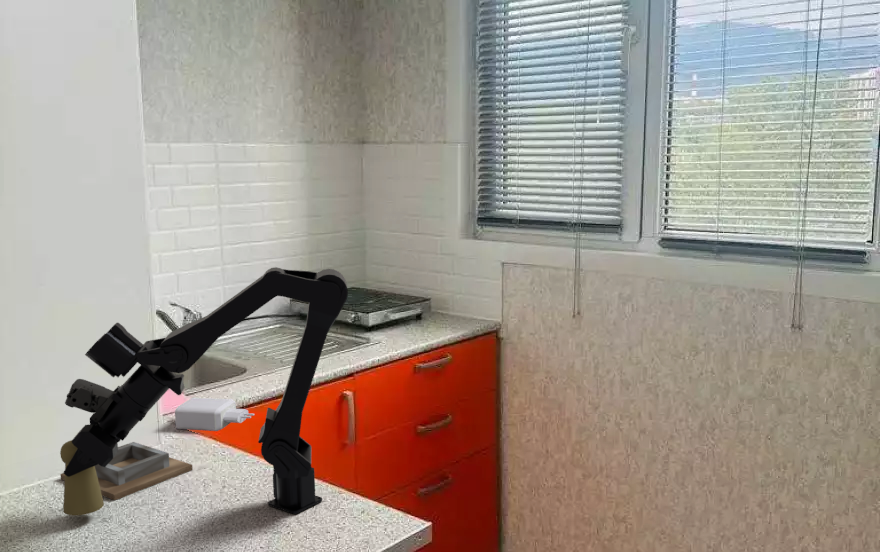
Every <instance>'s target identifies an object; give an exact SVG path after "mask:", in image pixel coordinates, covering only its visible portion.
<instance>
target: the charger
mask: <svg viewBox="0 0 880 552" xmlns="http://www.w3.org/2000/svg"><path fill="white" fill-rule="evenodd" d="M236 404H237V403H236V401H235V400H234V399H232V398H216V397H215V398H212V397H191V398H189V399H188V400H186V401H185V402H183V403H181V404H180V405H178V406H177V407H176V408H175V410H174V419H175V429H176V430H190V431H191V430H192V431H207V432H208V431H209V432H218V431H221V430H223V429H224V428H226V427H227V426H228V425H230V424H231V423H232V424H233V423H236V424H242V423H243V422H244V421H246V419H251V418H252V416H253V417H254V416H255V413H249V410H248V409H246V408H237V407H236V406H237V405H236Z"/></svg>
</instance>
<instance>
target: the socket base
mask: <svg viewBox="0 0 880 552" xmlns="http://www.w3.org/2000/svg"><path fill="white" fill-rule="evenodd" d="M95 469H96V473H97V477H98V482H99V486H100V490H101V494H102V497H105V498H107V499H110V500H113V501H117V500H119V499H122V498H124V497H127V496H129V495H132V494H134V493H137V492H140V491H142V490H144V489H147V488H150V487H153V486H155V485H157V484H160V483H163V482H166V481H168V480H170V479H173V478H175V477H179V476H181V475H183V474H186V473H188V472H190V471H193V464H191V463H187V462H185V461H182V460H179V459H175V458H173V457H170V453H169V452H166V451H163V450H160V449H157V448H153V447H151V446H148V445H145V444H141V443H139V442H135V441H132V442H129V443H126V444H122V445H120V446H118V451H117V453H116V455H115V456H114V458H113V459H112V460H111V461H110V462H109V463H108V464H107V466H106V467H102V466H100V465H99V464H98V465H95ZM60 480H62V481H64V482H65V474H64V472H62V473H60Z"/></svg>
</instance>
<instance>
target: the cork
mask: <svg viewBox="0 0 880 552" xmlns="http://www.w3.org/2000/svg"><path fill="white" fill-rule="evenodd" d="M72 440H73V439H70V440H68V441H67V442H65V443H63V444H62V446H61V448H60V452H59V454H60V458H61V461H62V462H63V463H64V464H65V466H64V470H65V469H66V467H67V466H68V464H69V462H70V461H71V459H72V457H73V456H74V454H75V452H76V451H77V449H78V448H77V447H75V446H74V445H73V443H72V442H71V441H72ZM63 483H64V485H63V486H64V487H63V488H64V489H63V509H62V511H63V514H65V515H67V516H74V517H75V516H85V515H89V514H93V513H95V512H97V511H99V510H101V509H102V508H103V507H104V506H105V504H104V499H103V496H102V494H101V490H100V486H99V482H98V477H97V473H96V469H95V466H93V467H91V468H88V469H86V470H84V471H81V472H79V473H77V474H75V475H72V476H70V477H68V476H66V475H65V481H64V482H63Z"/></svg>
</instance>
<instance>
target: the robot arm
mask: <svg viewBox="0 0 880 552" xmlns="http://www.w3.org/2000/svg"><path fill="white" fill-rule="evenodd" d="M347 285H348V284H347V281H346V278H345V276H344V275H343V274H342V273H341V272H340V271H338V270H336V269H334V268H326V269H322V270H320V271H318V272H316V271H309V270H297V269H285V268H281V267H276V266H275V267H271V268H269V269H267V270H266V271H265V272H264V273H263V274H262V275H261V276H260V277H259V278H257V279H256V280H254V281H252V282H251V283H250V284H249V285H248V286H246V287H245V288H243V289H242V290H240V291H239V292H238V293H237V294H235V295H234V296H232V297H231V298H230V299H228V300H226V302H225V301H224V303H222V304H221V305H220V306H218V307H217V308H216V309H214V310H213V311H211V312H210V313H208V314H207V315H205V316H203V317H201V318H199V319H197V320H194V321H190V322H188V323H186V324H185V325H183V326H181V327H179V328H176V329H174V330H172V331H171V332H169V333H168V334H167V335H166V337H160V338H157V339H156V338H155V339H151V340H146V341H145V342H144V343H142V342H141V341H140V340H139V339H137V338H136V337H135V336H134V335H132V334H131V333H130V332H129V331H128V330H127V329H126V328H125V326H123V325H122V324H121V323H119V322H116V323H115V324H113V325H112V327H110V329H109V330H108V331H107V332H106V333H104V334H103V335H102V336H101V337H100V338H99V339H98V340H96V341H95V342H94V344H93V345H92V346H91V347H90V348H89V349H88V350H87V352H86V353H85V354H84V355H85V356H86V357H87V358H88V359H89V360H91V361H92V362H93V363H94V364H96V365H97V366H98V367H100V369H102V370H103V371H104V372H106V373H108V374H109V375H110V377H112V378H115V377H116V378H119V377H120V376H122V377H123V378H124V377H126V376H127V374H129V372H130V371H132V369H133V368H134V367H135V366H136V365H137V364H139V365H140V366H138V368H137V369H135V371H134V372H133V373H131V375H130V376H129V377H128V378H127V380H125V381H124V383H123V384H121V385H118V386H117V387H116V388H115V389H114V390H112V389H110V388H107V387H105V386H103V385H100V384H98V383H95V382H92V381H88V380H86V379H83V378H77V379H76V380H75V381H73V383H72V384H71V387H70V389H69V391H68V393H67V394H66V399H65V401H64V404H65V405H66V406H67V407H70V408H71V409H72V408H76V409H80V410H81V411H85V412H87V413H90V414H91V413H92V414H91V416H90V417H89V424H85V425H84V426H83V427H82V428H81V429H80V430H79V431H78V432H77V433H76V435H74V437H73V438H72V439H71V440H72V441H71V440H70V441H71V442H72V443H73V445H74V446H75V447H77V448H78V449H77V451H76V452H75V454H74V456H73V457H72V459H71V461H70V462H69V464H68V466H67V467H66V469H65V468H64V471H63V473H64V474H65V475H66V476H68V477H70V476H72V475H75V474H77V473H79V472H81V471H84V470H86V469H88V468H91V467H93V466H95V465H98V464H99V465H100V466H102V467H106V466H107V464H108V463H109V462H110V461H111V460H112V459H113V458H114V456H115V455H116V453H117V451H118V447H119V445H118V443H120V441H122V442H123V441H124V440H125V439H126V438H127V436H128V435H129V433H130V432H131V431H132V430H133V428H134V427H136V425H137V424H139V422H141V421H143V419H145V417H146V416H147V414H148V412H149V411H150V410H151V409H152V408H153V407H154V406H155V405H156V403H158V401H159V400H160V399H161V398H162V397H163V396H164V395H165V394H166V392H168V391H169V390H171V391H172V392H173V393H174V394H176V395H177V396H181V395H182V393H183V391H184V389H185V384H184V377H185V375H184V374H183V373H186V371H188V370H189V369H191V367H193V366H194V365H195V363H197V361H199V360H200V358H201V357H203V356H204V354H205V353H206V352H207V351H208V350H209V349H210V348H211V347H212V345H214V343H215V342H216V341H217V340H218V339H219V338H220V337H222V336H223V335H225V334H226V333H227V332H229V331H230V330H231V329H233V328H235V327H236V326H237V325H238V324H240V323H241V322H243V321H244V320H245V319H247V318H249V316H251V315H252V314H254V313H256V311H258V310H259V309H261V308H262V307H263V306H265V305H266V304H268V303H269V302H270V301H272V300H273V299H274V298H276V297H284V298H287V299H291V300H295V301H300V302H303V303H308V306H307V307H308V308H307V316H306V323H305V326H304V329H303V332H302V335H301V338H300V341H299V345H298V348H297V349H296V350H297V351H296V354H295V358H294V360H293V363H292V367H291V371H290V372H289V376H288V379H287V383H286V386H285V389H284V392H283V396H282V398H281V401H280V403H279V404H278V406H277V407H276V409H273V408H270V407H267V409H266V416H265V421H264V424H263V425H262V426H261V427H260V430H259V431H260V432H259V437H258V442H257V443H258V444H261V449H260V453H261V456H262V458H263V460H264V461H266V462H267V464H269V465H272V466H273V467H272V468H273V474H272V487H273V497H274V498H273V499H271V500H269V501H268V502H267V505H268V506H270V507H272V508H275V509H278V510H281V511H285V512H287V513H290V514H293V515H296V514H299V513H301V512H303V511H304V510H307V509H309V508H311V507H313V506H314V505H317V504H319V503H321V502H322V501H323V497H322V496H319V495H316V479H315V478H316V477H315V468H314V467H312V445H311V444H310V443H309V442H307V441H306V440H305V439H304V438H303V437H301V436H300V434H301V427H302V426H301V425H302V419H303V417H302V416H303V411H304V408H305V405H306V401H307V399H308V395H309V392H310V391H311V390H310V389H311V387H312V383H313V381H314V377H315V373H316V371H317V367H318V364H319V361H320V358H321V355H322V353H323V349H324V346H325V342H326V339H327V336H328V334H329V332H330V329H331V328H332V327H333V325H334V323H335V322H336V320H337V318H338V317H339V315H340V313H341V311H342V309H343V307H344V305H346V302H347V300H348V295H349V294H348V293H349V292H348V291H349V290H348V286H347ZM176 373H177V374H176Z"/></svg>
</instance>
